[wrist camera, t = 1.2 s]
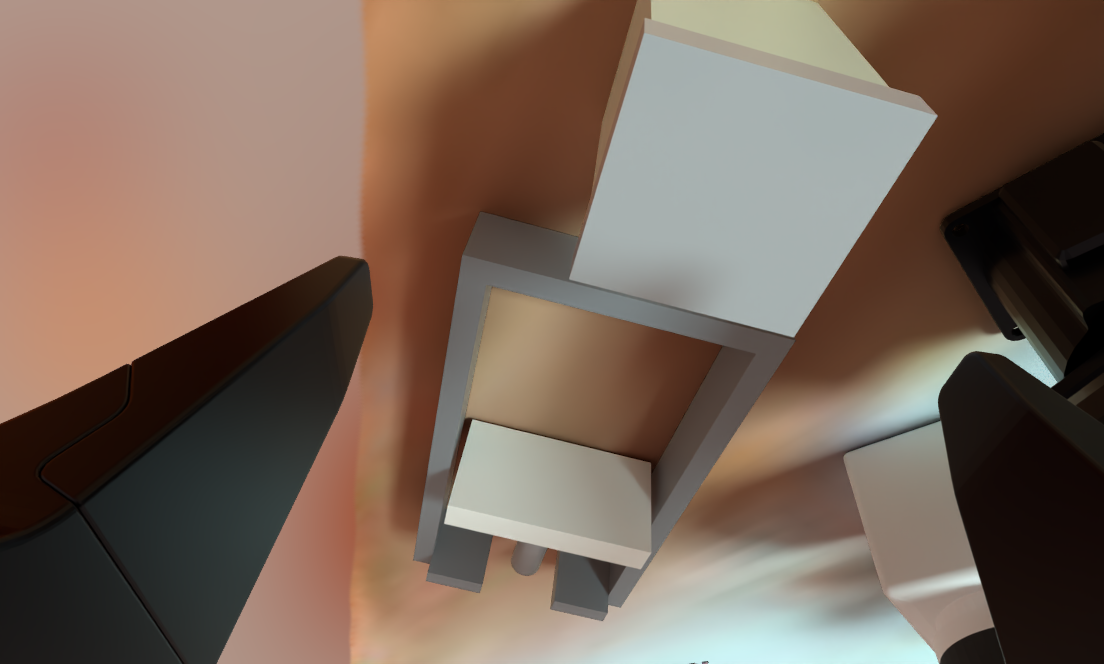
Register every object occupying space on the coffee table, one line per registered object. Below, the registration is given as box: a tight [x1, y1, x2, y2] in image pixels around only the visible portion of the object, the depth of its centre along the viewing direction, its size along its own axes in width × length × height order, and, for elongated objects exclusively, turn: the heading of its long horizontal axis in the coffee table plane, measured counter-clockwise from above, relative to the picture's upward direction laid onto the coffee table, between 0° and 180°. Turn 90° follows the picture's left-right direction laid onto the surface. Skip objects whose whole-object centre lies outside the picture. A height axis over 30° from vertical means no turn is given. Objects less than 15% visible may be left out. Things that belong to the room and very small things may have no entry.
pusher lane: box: [413, 211, 795, 621], centre depth 29 cm, size 21×12×4 cm, turn 167°
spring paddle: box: [444, 419, 651, 576], centre depth 32 cm, size 8×9×5 cm
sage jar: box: [569, 0, 937, 337], centre depth 16 cm, size 5×5×9 cm
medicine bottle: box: [844, 421, 1005, 664], centre depth 25 cm, size 7×7×12 cm
